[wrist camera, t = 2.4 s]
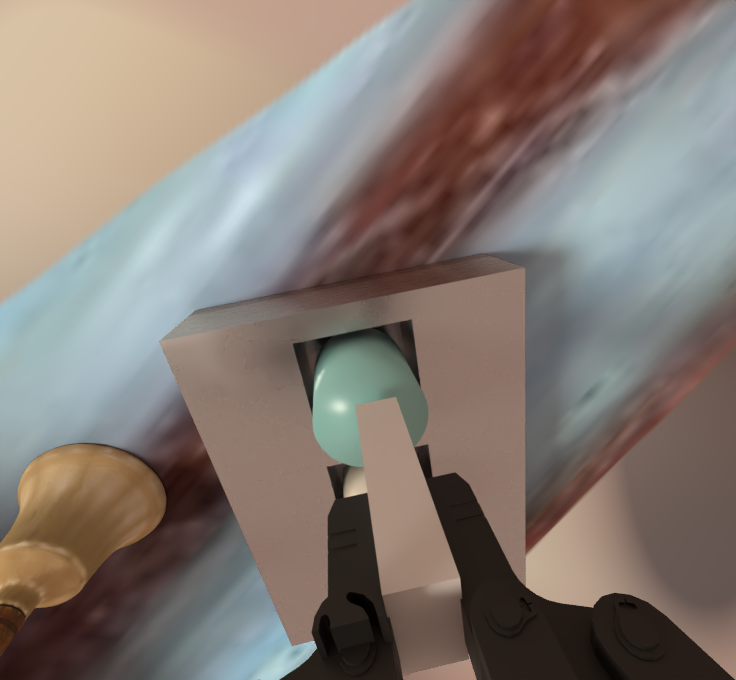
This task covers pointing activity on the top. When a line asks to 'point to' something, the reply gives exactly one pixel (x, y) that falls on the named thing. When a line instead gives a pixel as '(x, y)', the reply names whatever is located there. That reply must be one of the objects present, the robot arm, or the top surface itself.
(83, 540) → the hand bell
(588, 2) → the top surface
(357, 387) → the teal button
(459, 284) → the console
